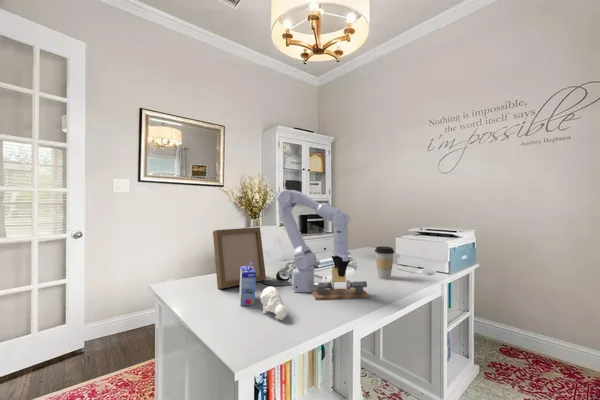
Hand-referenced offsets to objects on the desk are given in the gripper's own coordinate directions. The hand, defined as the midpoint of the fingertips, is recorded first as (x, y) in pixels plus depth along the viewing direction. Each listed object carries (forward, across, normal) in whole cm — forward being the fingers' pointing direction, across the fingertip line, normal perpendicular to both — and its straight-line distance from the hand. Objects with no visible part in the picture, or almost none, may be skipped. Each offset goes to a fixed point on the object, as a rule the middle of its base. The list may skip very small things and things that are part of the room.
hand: (340, 274), depth 112 cm
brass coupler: (+2, 0, +1) cm, 2 cm away
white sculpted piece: (+8, -17, +27) cm, 33 cm away
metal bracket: (+9, +27, +19) cm, 34 cm away
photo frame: (+8, +21, +43) cm, 49 cm away
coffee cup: (+8, +22, -29) cm, 37 cm away
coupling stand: (+8, 0, 0) cm, 8 cm away
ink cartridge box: (+8, -3, +37) cm, 38 cm away
